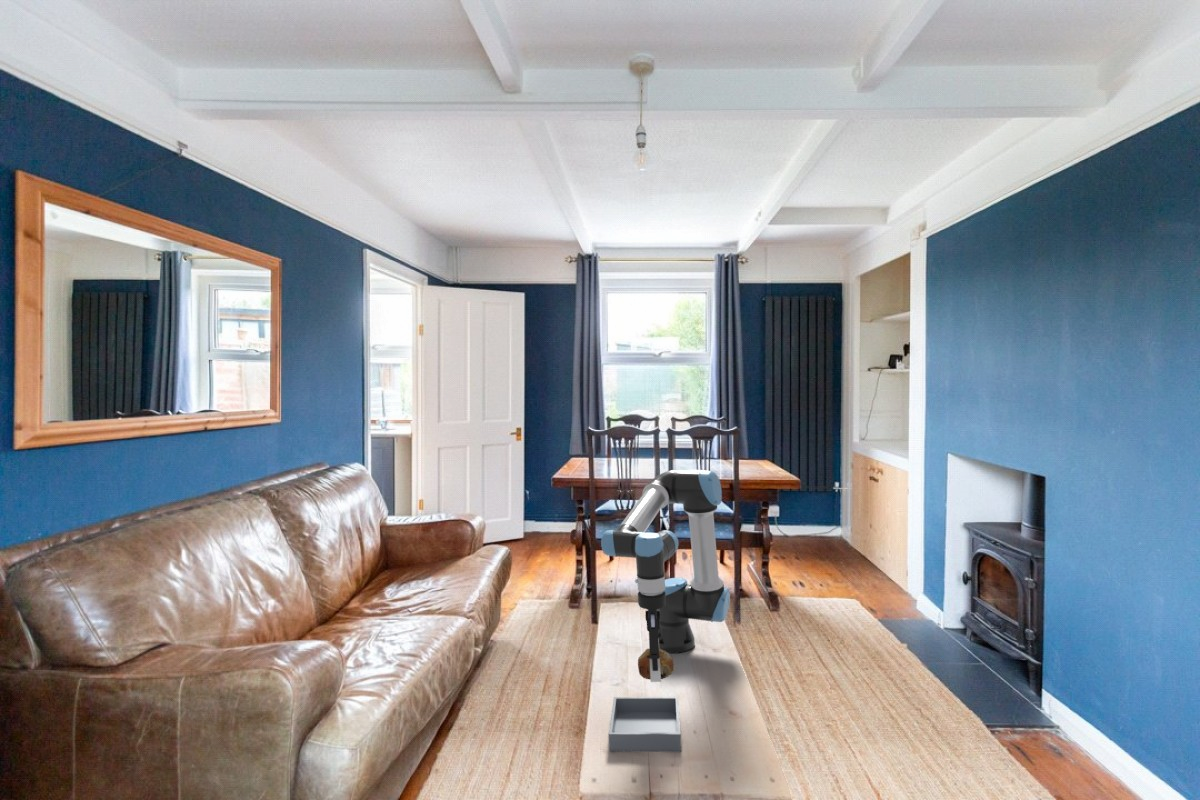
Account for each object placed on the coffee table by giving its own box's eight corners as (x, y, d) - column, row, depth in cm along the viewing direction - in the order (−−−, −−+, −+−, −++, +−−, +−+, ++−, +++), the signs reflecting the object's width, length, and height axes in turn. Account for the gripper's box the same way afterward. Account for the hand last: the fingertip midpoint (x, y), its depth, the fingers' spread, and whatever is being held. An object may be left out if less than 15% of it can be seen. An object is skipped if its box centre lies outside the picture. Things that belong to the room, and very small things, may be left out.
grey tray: (614, 712, 174) (613, 697, 174) (678, 712, 172) (678, 696, 172) (609, 751, 155) (608, 734, 155) (681, 751, 153) (680, 734, 153)
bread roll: (676, 681, 165) (677, 650, 169) (669, 681, 157) (670, 648, 160) (641, 677, 168) (643, 647, 172) (632, 677, 160) (634, 645, 163)
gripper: (638, 578, 175) (642, 652, 176) (637, 606, 152) (641, 692, 153) (664, 577, 175) (667, 652, 175) (666, 606, 152) (670, 692, 152)
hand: (655, 671), depth 164 cm, fingers closed on bread roll, 10 cm apart
